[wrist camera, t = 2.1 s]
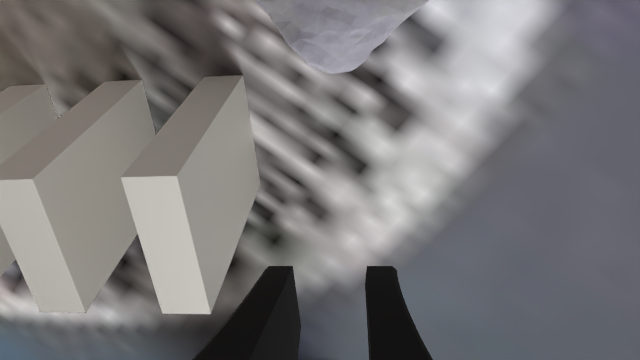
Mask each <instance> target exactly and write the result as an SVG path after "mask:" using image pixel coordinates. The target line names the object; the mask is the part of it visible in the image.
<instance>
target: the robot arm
mask: <svg viewBox="0 0 640 360" xmlns="http://www.w3.org/2000/svg"><path fill="white" fill-rule="evenodd" d="M365 290H366V308H367V327H368V345H369V360H433V359H432V358H431V356H430V354H429V352H428V350H427V348H426V347H425V345H424V343H423V341H422V339H421V337H420V335H419V333H418V331H417V329H416V327H415V324H414V322H413V320H412V318H411V316H410V313H409V311H408V309H407V306H406V304H405V301H404V298H403V295H402V292H401V289H400V285H399V282H398V277H397V270H396V269H395V268H394V267H392V266H367V272H366V282H365ZM300 330H301V324H300V316H299V309H298V302H297V294H296V287H295V280H294V273H293V266H269V267H268V268H267V269H265V271H264V272H263V274H262V275H261V277H260V278H259V279H258V281H257V282H256V284H255V285H254V286H253V288H252V289H251V291H250V292H249V293H248V295H247V296H246V297H245V299H244V300H243V301H242V303H241V304H240V305H239V307H238V308H237V309H236V310H235V312H234V313H233V314H232V315H231V317H230V318H229V319H228V320H227V322H226V323H225V324H224V325H223V326H222V328H221V329H220V330H219V331H218V332H217V333H216V334H215V336H214V337H213V338H212V339H211V340H210V341H209V342H208V343H207V345H206V346H205V347H204V348H203V349H202V350H201V351H200V352H199V353H198V354H197V355H196V356H195V357H194V358H193V360H297V357H298V348H299V339H300Z"/></svg>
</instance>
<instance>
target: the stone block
mask: <svg viewBox="0 0 640 360" xmlns="http://www.w3.org/2000/svg"><path fill="white" fill-rule="evenodd" d="M255 1H256V2H257V3H258V4H259V5H260V6H261V7H262V8H263V9H264V10H265V11H266V12H267V14H268V15H269V16H270V18H271V19H272V21H273V22H274V24H275V25H276V27H277V28H278V30H279V32H280V33H281V35H282V36H283V38H284V39H285V41H286V42H287V44H288V45H289V46H290V47H291V48H292V49H293V50H294V51H295V52H296V53H297V54H298V56H299V57H300V58H301V59H302V60H303V61H304V62H305V63H306V64H307V65H309V66H311V67H313V68H315V69H317V70H320V71H323V72H326V73H342V72H349V71H352V70H354V69H356V68H357V67H358V66H359V65H361V64H362V63H363V62H364V61H365V60H367V58H368V56H369V54H370V52H371V51H372V50H373V49H374V48H376V47H377V46H378V45H380V44H381V43H383V42H384V41H385V39H386V38H387V37H388V35H389V34H390V33H391V32H392V31H393V30H394V29H395V28H396V27H397V26H399V25H400V24H401V23H402V22H403V21H404V20H405V19H407V18H408V17H409V16H410V15H412V14H413V13H414V12H415V11H417V10H418V9H419V8H420V7H422V6H423V5H424V4H425V3H427V2H428V1H429V0H255Z"/></svg>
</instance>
